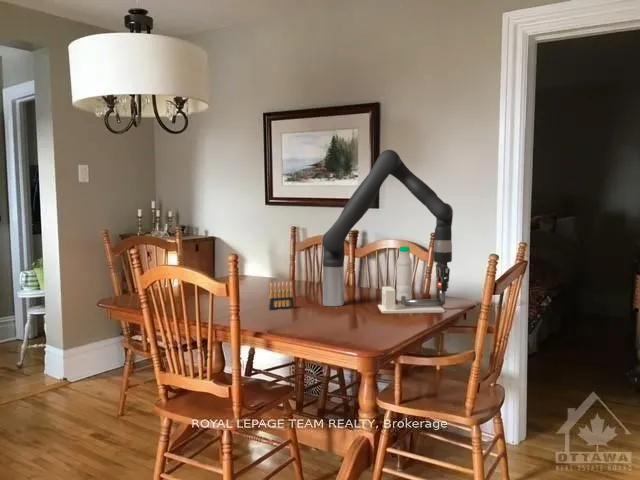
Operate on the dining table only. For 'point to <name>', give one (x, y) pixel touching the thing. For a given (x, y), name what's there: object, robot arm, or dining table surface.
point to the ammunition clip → (281, 297)
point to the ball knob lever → (426, 301)
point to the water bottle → (404, 274)
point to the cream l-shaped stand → (391, 307)
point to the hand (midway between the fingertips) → (442, 290)
